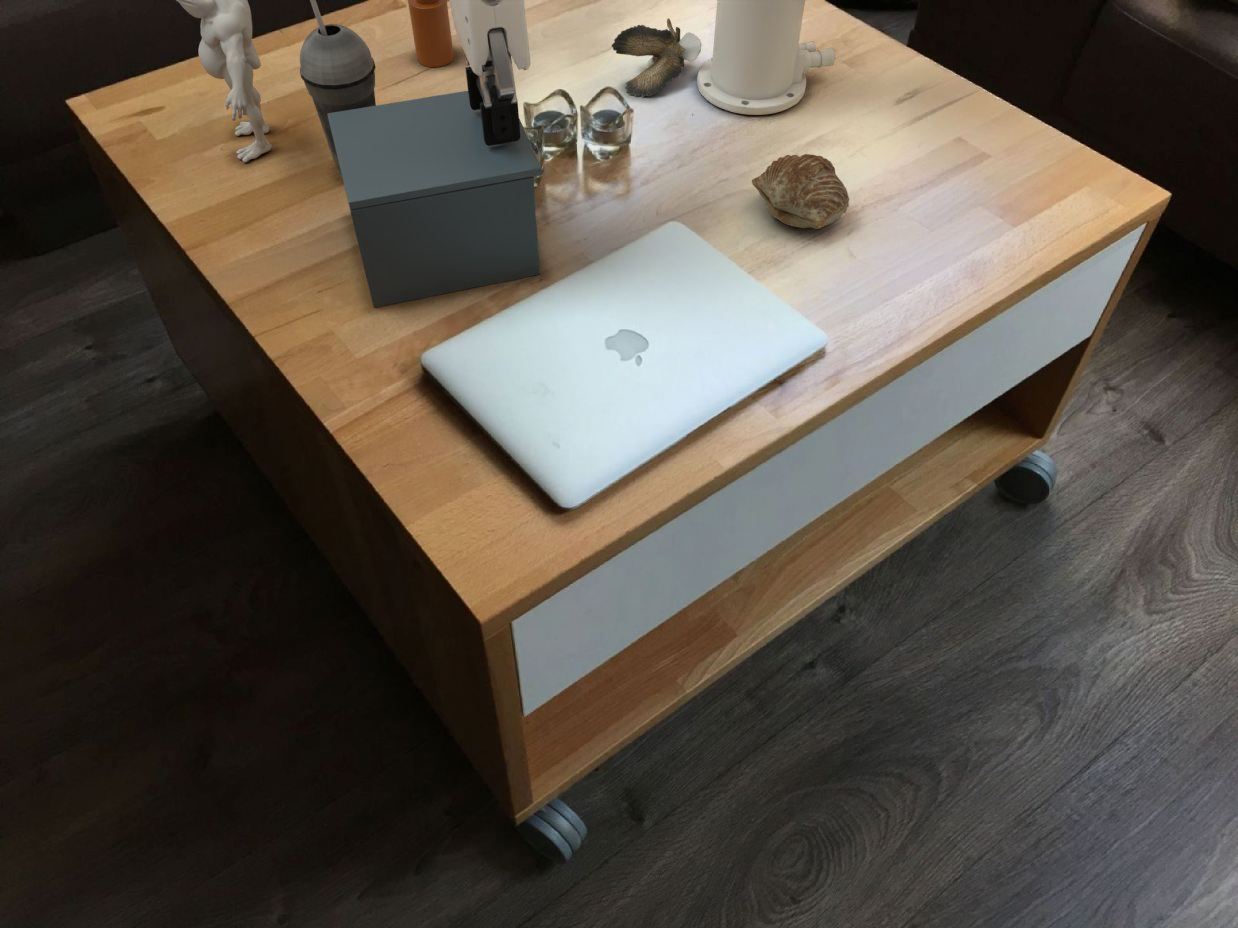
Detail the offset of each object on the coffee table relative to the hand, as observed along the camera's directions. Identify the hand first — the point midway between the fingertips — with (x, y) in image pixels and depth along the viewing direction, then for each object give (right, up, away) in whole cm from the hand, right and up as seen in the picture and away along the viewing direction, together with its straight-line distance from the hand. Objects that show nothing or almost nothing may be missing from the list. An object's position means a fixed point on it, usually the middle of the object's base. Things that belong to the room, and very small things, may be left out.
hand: (494, 122), depth 92 cm
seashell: (+29, -6, +12) cm, 32 cm away
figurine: (-29, +4, +19) cm, 35 cm away
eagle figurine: (+16, +15, +28) cm, 35 cm away
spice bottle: (-11, +18, +31) cm, 37 cm away
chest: (-6, -9, +8) cm, 14 cm away
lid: (-6, -2, 0) cm, 6 cm away
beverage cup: (-16, 0, +16) cm, 23 cm away
